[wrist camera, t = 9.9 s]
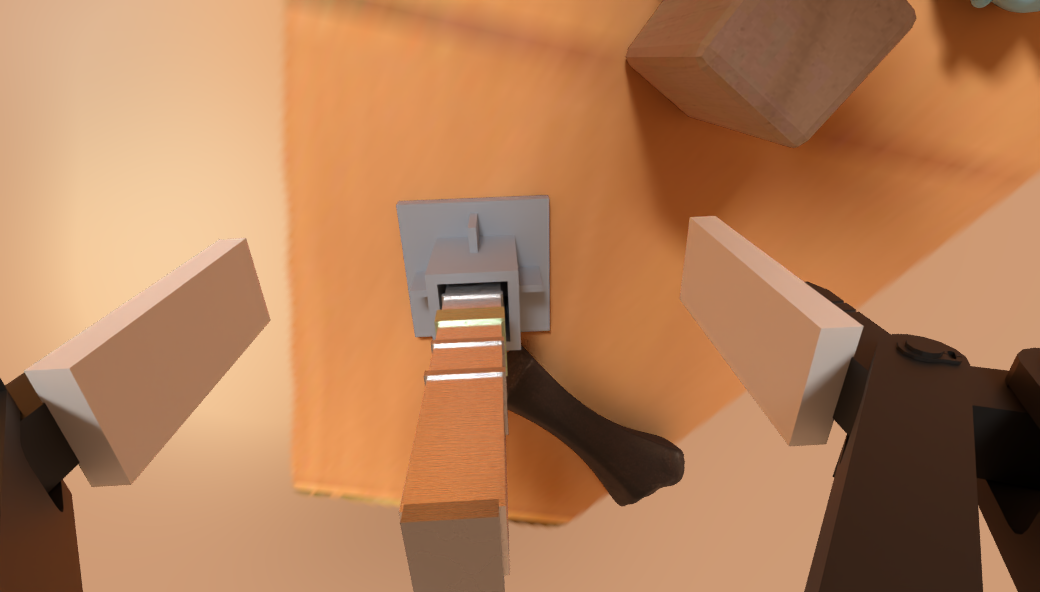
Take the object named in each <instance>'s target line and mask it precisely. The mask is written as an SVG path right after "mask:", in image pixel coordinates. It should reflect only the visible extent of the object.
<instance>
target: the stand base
mask: <svg viewBox="0 0 1040 592" xmlns="http://www.w3.org/2000/svg"><path fill="white" fill-rule="evenodd" d="M396 207H397V214H398V221H399V228H400V235H401V242H402V249H403V256H404V263H405V270H406V277H407V283H408V290H409V297H410V304H411V311H412V318H413V325H414V332H415V337H430V336H432V337H433V340H435V339H436V331H435V323H434V321H435V316H436V312H437V310H442V294H445V291H446V287H447V284H459V283H480V282H500V287H501V291H503V307H504V311H505V331H506V351H509V350H521V334H520V332H530V331H550V283H549V197H548V195H536V196H512V197H489V198H465V199H441V200H417V201H399V202H398V203H397V205H396Z"/></svg>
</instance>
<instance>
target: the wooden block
mask: <svg viewBox="0 0 1040 592" xmlns="http://www.w3.org/2000/svg"><path fill="white" fill-rule="evenodd" d="M915 20H916V15H915V10H914V9H913V8H912V6H911V5H910V4H909V3H908V2H907V0H663V1H662V3H661V4H660V5H659V7H658V8H657V10H656V11H655V12H654V14H653V15H652V16H651V18H650V19H649V21H648V22H647V23H646V25H645V26H644V27H643V29H642V30H641V32H640V33H639V34H638V36H637V37H636V38H635V40H634V41H633V43H632V44H631V45H630V47H629V48H628V51H627V54H626V59H627V61H628V64H629V65H630V66H631V67H632V68H633V69H634V70H636V71H637V72H638V73H639V74H640V75H641V76H642V77H644V78H645V79H646V80H647V81H648V82H649V83H651V84H652V85H653V86H654V87H655V88H656V89H657V90H659V91H660V92H661V93H662V94H663V95H664V96H665V97H667V98H668V99H669V100H670V101H671V102H672V103H674V104H675V105H676V106H677V107H678V108H679V109H680V110H682V111H683V112H684V113H685V114H686V115H687V116H688V117H692V118H695V119H698V120H702V121H705V122H708V123H711V124H715V125H718V126H721V127H725V128H728V129H731V130H735V131H738V132H741V133H745V134H748V135H751V136H754V137H758V138H761V139H764V140H768V141H771V142H774V143H778V144H781V145H784V146H788V147H792V148H795V147H799V146H800V145H802V144H803V143H805V142H807V141H808V140H809V139H810V138H811V137H812V136H813V135H814V133H815V132H816V131H817V130H818V129H819V128H820V127H821V126H822V125H823V124H824V123H825V122H826V120H827V119H828V118H829V117H830V116H831V115H832V114H833V113H834V112H835V111H836V110H837V109H838V107H839V106H840V105H841V104H842V103H843V102H844V101H845V100H846V99H847V98H848V97H849V96H850V94H851V93H852V92H853V91H854V90H855V89H856V88H857V87H858V86H859V85H860V84H861V83H862V81H863V80H864V79H865V78H866V77H867V76H868V75H869V74H870V73H871V72H872V71H873V70H874V68H875V67H876V66H877V65H878V64H879V63H880V62H881V61H882V60H883V59H884V58H885V56H886V55H887V54H888V53H889V52H890V51H891V50H892V49H893V48H894V47H895V46H896V45H897V43H898V42H899V41H900V40H901V39H902V38H903V37H904V36H905V35H906V34H907V33H908V32H909V30H910V29H911V28H912V26H913V24H914V22H915Z"/></svg>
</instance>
